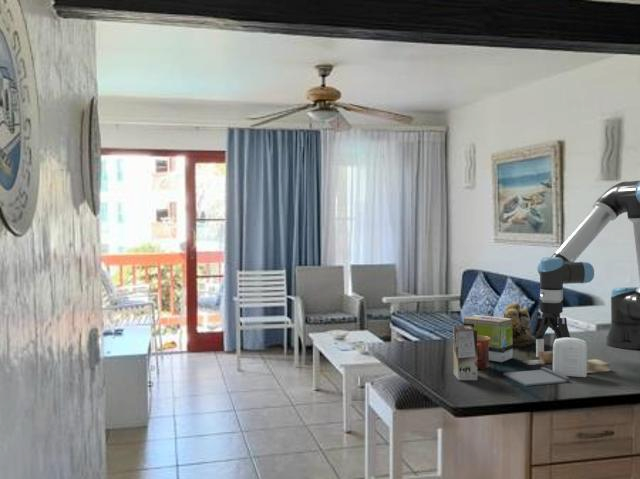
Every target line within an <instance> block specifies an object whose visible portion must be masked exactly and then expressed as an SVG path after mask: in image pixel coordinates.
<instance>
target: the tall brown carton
mask: <svg viewBox="0 0 640 479" xmlns="http://www.w3.org/2000/svg"><path fill="white" fill-rule="evenodd" d="M522 363H523V364H526V365H527V366H533V365H534V366H536V365H545V364H553V350H549V351H545V350H544V352H539V357H538V359H527V360H522Z"/></svg>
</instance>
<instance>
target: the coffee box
mask: <svg viewBox="0 0 640 479" xmlns="http://www.w3.org/2000/svg"><path fill="white" fill-rule="evenodd" d="M452 343H453V344H452V349H453V350H452V354H453V361H452V364H453V368H452V369H453V370H452V371H453V375H454V376H455V378H456V379H457V380H458V381H477V380H478V369H477V330H476V329H475V328H473V327H472V326H469V325H464V324H463V325H452Z"/></svg>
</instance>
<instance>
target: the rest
mask: <svg viewBox="0 0 640 479" xmlns="http://www.w3.org/2000/svg"><path fill="white" fill-rule="evenodd" d="M610 371H611V362H610V363H609V362H607V361H604V360H601V359H598V358H594V359H587V374H589V373H590V374H591V373H602V372H603V373H604V372H610Z"/></svg>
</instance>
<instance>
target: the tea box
mask: <svg viewBox="0 0 640 479" xmlns="http://www.w3.org/2000/svg"><path fill="white" fill-rule="evenodd" d="M463 325H469V326H472V327H473V328H475V329H476V330H477V335H482V336H488V337H490V338H491V341H490V344H489V361H492V362H496V363H503V362H506V361H508V360H510V359H513V356H514V354H513V350H514V349H513V331H512V318H503V317H500V316H491V315H481V314H474V315H471V316H467V317H463Z"/></svg>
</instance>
